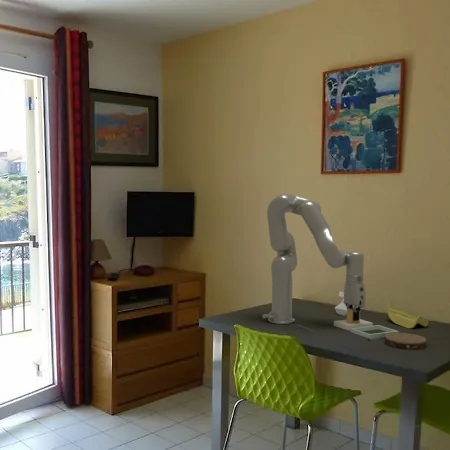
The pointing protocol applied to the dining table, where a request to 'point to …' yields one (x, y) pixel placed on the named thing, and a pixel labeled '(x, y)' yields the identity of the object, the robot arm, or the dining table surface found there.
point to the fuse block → (351, 324)
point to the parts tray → (370, 336)
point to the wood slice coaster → (405, 341)
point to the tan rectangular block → (351, 316)
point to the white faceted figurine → (341, 306)
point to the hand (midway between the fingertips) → (353, 319)
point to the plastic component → (405, 318)
